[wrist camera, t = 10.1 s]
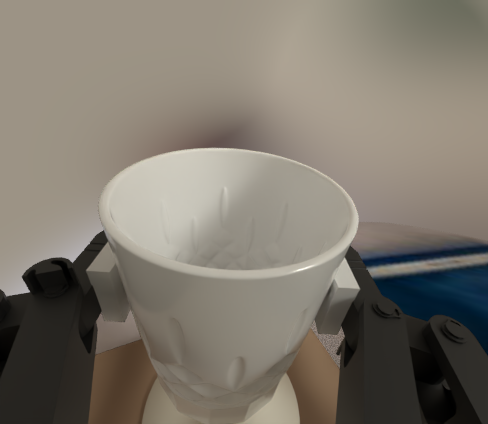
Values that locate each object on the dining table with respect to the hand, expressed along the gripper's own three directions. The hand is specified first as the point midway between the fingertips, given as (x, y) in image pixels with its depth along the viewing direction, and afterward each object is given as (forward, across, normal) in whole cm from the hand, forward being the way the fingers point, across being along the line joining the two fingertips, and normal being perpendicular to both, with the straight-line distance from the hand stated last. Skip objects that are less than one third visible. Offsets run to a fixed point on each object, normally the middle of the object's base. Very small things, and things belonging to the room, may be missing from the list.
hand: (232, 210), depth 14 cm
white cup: (-5, 0, -6) cm, 8 cm away
